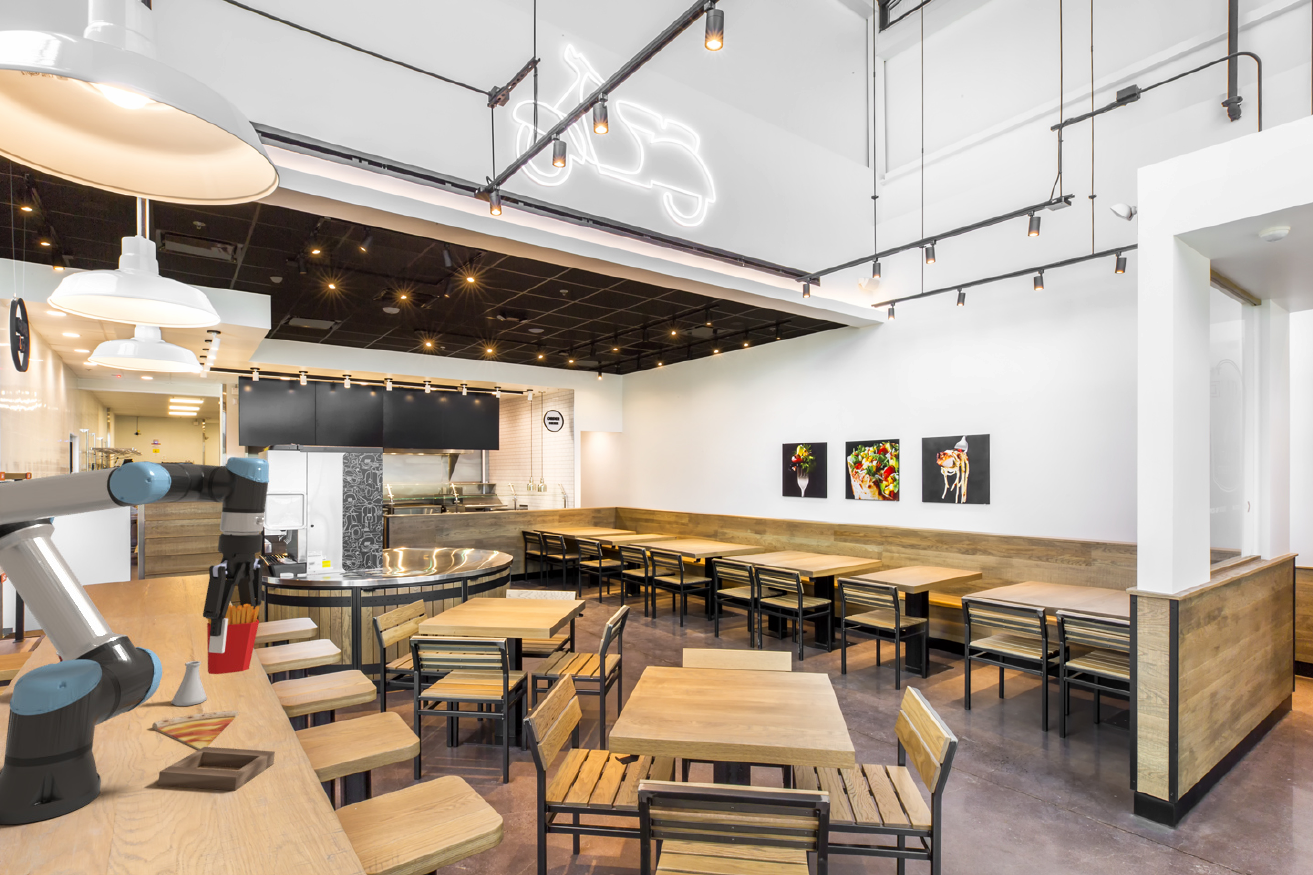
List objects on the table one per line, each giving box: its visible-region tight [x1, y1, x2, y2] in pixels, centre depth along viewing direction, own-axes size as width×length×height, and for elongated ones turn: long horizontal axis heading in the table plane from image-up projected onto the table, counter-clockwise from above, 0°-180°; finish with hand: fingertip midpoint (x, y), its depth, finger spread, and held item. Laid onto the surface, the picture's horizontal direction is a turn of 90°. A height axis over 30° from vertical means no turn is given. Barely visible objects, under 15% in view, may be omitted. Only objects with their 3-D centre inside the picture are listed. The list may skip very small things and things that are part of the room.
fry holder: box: [157, 746, 276, 791], centre depth 130 cm, size 12×15×2 cm
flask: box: [170, 660, 208, 707], centre depth 169 cm, size 7×7×10 cm
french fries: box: [206, 604, 261, 675], centre depth 132 cm, size 9×4×13 cm, turn 130°
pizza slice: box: [151, 709, 240, 751], centre depth 149 cm, size 16×22×2 cm
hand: (229, 647), depth 132 cm, fingers closed on french fries, 7 cm apart
